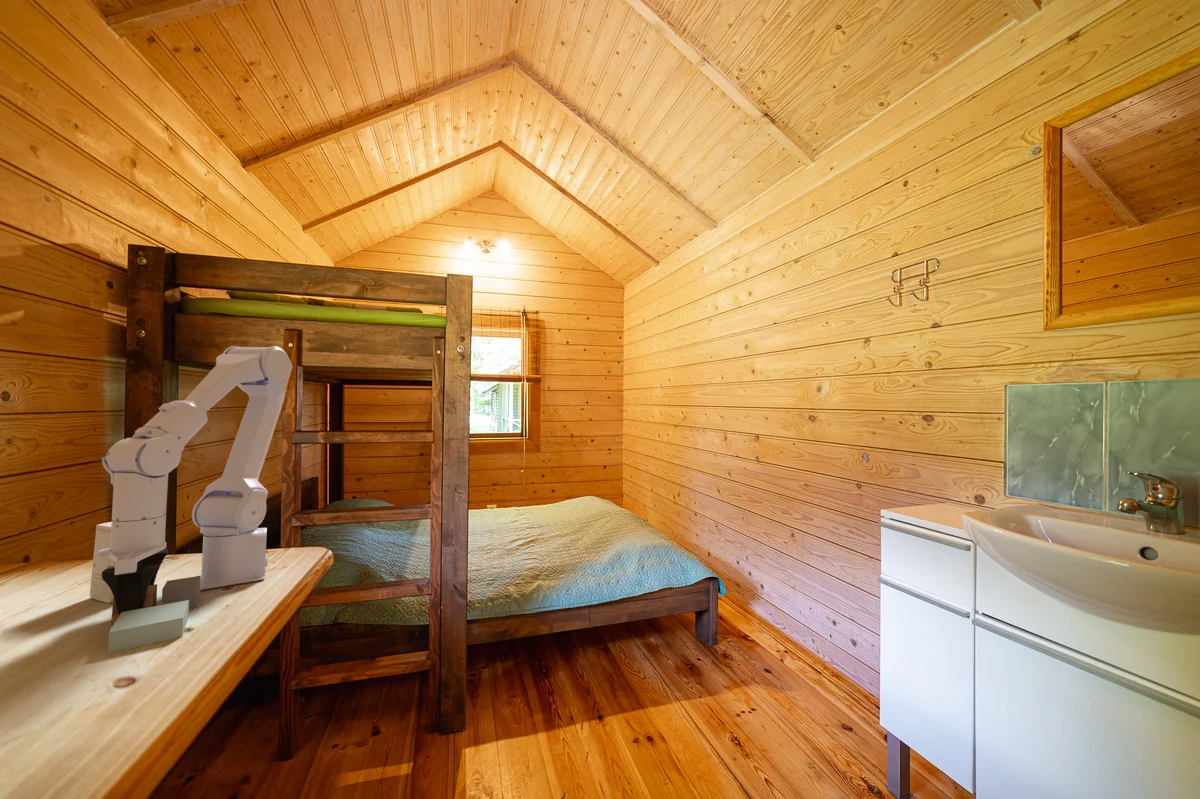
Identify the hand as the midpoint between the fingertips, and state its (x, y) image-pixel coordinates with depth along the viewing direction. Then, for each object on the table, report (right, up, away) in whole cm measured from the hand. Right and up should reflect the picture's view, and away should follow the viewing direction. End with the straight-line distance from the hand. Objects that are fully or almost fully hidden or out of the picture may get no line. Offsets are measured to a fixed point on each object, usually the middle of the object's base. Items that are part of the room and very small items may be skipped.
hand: (135, 607), depth 66 cm
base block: (+7, -2, -5) cm, 9 cm away
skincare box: (-10, -2, +7) cm, 13 cm away
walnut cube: (0, -2, 0) cm, 2 cm away
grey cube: (+3, -2, +4) cm, 5 cm away
